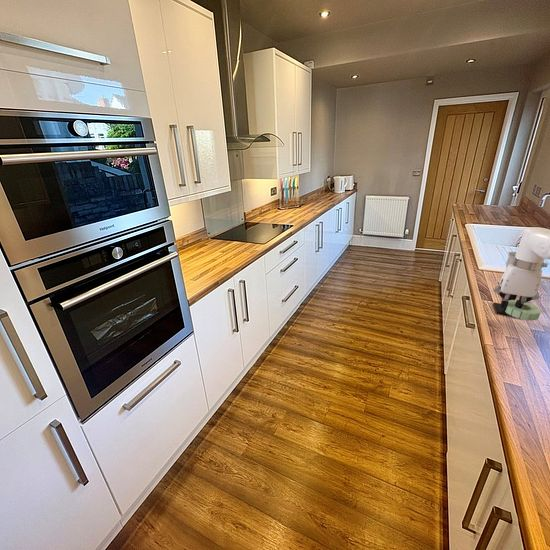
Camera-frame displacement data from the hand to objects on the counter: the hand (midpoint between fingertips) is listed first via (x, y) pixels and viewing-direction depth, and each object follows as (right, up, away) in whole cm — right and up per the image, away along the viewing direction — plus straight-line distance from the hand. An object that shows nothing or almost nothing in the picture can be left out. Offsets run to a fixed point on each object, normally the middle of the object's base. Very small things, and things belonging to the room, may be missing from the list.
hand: (509, 310), depth 106 cm
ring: (+3, -1, -1) cm, 3 cm away
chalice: (+20, +5, +27) cm, 34 cm away
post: (+8, -2, +12) cm, 14 cm away
